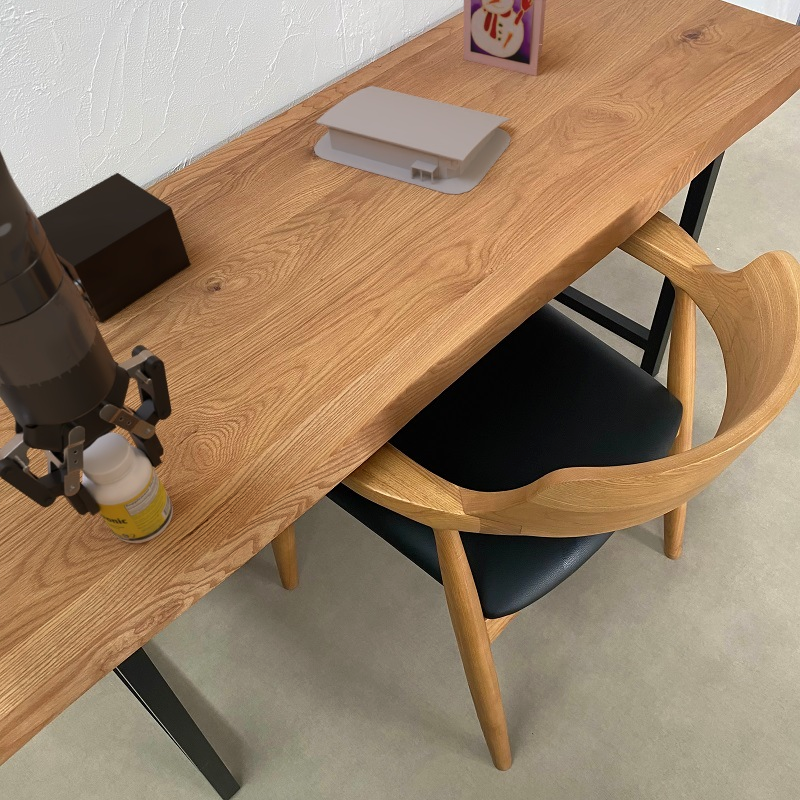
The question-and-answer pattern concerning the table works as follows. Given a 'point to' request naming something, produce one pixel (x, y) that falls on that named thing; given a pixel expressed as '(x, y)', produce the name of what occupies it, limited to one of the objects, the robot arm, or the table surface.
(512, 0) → the greeting card
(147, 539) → the supplement bottle
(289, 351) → the table surface
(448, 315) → the table surface
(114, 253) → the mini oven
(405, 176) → the miniature building model
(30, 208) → the robot arm
